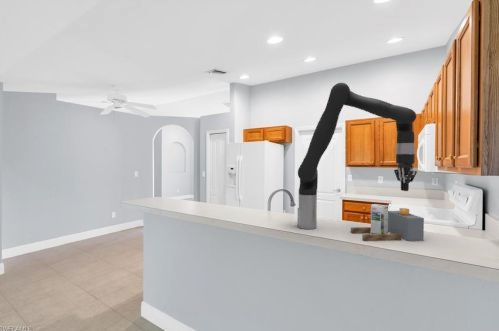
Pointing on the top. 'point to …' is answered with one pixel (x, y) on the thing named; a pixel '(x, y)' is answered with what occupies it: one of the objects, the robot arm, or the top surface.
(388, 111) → the robot arm
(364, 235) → the guide rails
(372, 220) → the syrup box
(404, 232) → the end cabinet
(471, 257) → the top surface
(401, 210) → the gauge button
